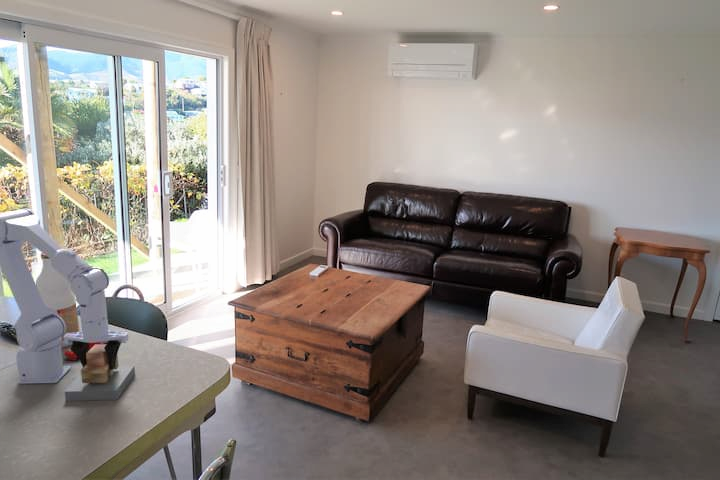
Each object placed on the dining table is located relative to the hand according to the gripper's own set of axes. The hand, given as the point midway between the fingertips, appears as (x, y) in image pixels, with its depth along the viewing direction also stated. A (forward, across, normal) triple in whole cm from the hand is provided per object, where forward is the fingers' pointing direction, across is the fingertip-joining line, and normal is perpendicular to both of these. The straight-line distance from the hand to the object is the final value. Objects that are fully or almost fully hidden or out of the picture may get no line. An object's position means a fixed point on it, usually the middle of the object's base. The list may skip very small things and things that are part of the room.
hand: (99, 368), depth 123 cm
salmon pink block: (-2, 0, 0) cm, 2 cm away
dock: (+5, 0, 0) cm, 5 cm away
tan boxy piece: (+2, 0, 0) cm, 2 cm away
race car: (+6, +12, -20) cm, 24 cm away
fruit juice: (+6, +22, -26) cm, 34 cm away
